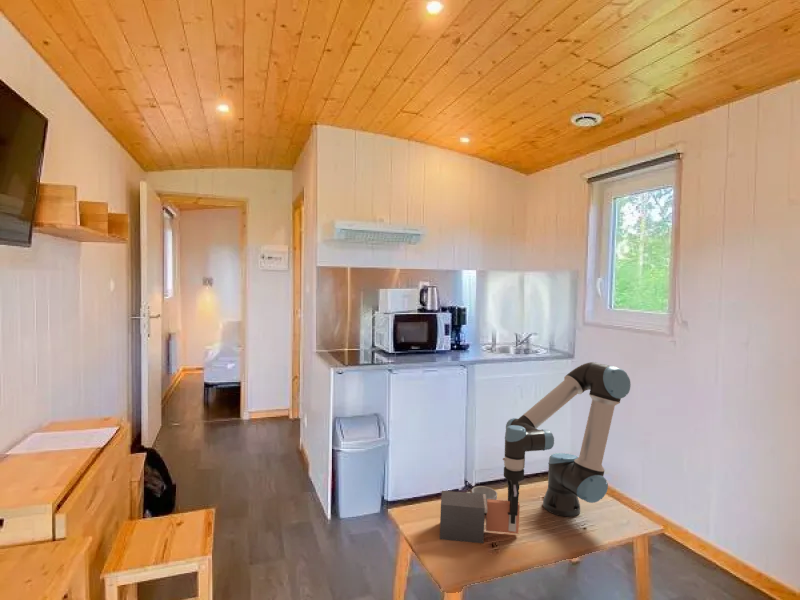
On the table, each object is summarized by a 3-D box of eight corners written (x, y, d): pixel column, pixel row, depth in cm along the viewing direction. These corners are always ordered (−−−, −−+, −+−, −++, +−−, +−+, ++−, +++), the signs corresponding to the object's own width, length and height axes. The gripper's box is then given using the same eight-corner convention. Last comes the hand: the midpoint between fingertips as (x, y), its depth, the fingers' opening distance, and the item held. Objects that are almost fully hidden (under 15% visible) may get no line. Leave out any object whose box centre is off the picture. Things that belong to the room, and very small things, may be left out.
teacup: (495, 505, 200) (495, 486, 200) (498, 517, 189) (498, 498, 189) (462, 502, 202) (463, 484, 201) (463, 514, 191) (464, 495, 191)
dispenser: (484, 526, 181) (485, 494, 181) (486, 543, 170) (487, 508, 169) (440, 522, 183) (441, 490, 183) (439, 539, 172) (440, 504, 171)
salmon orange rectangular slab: (517, 530, 177) (518, 501, 177) (518, 533, 175) (519, 504, 174) (485, 527, 179) (486, 499, 178) (486, 530, 176) (487, 501, 176)
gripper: (502, 459, 184) (499, 517, 184) (506, 474, 168) (503, 538, 169) (521, 460, 183) (518, 519, 183) (527, 476, 167) (524, 540, 168)
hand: (511, 528), depth 176 cm, fingers closed on salmon orange rectangular slab, 2 cm apart
